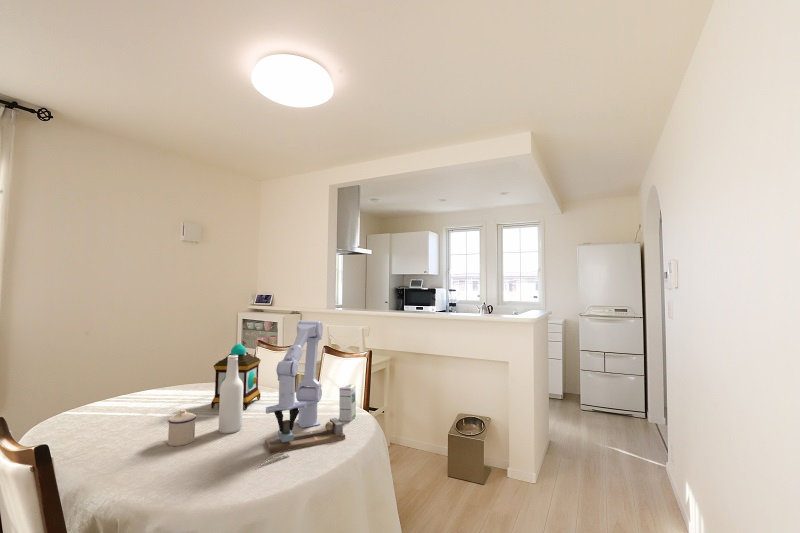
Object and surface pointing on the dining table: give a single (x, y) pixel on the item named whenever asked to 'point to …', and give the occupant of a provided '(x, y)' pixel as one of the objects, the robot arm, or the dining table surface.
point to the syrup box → (347, 403)
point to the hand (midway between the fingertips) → (285, 430)
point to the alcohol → (231, 399)
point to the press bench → (308, 438)
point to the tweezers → (273, 459)
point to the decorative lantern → (245, 373)
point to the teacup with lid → (181, 428)
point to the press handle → (286, 432)
